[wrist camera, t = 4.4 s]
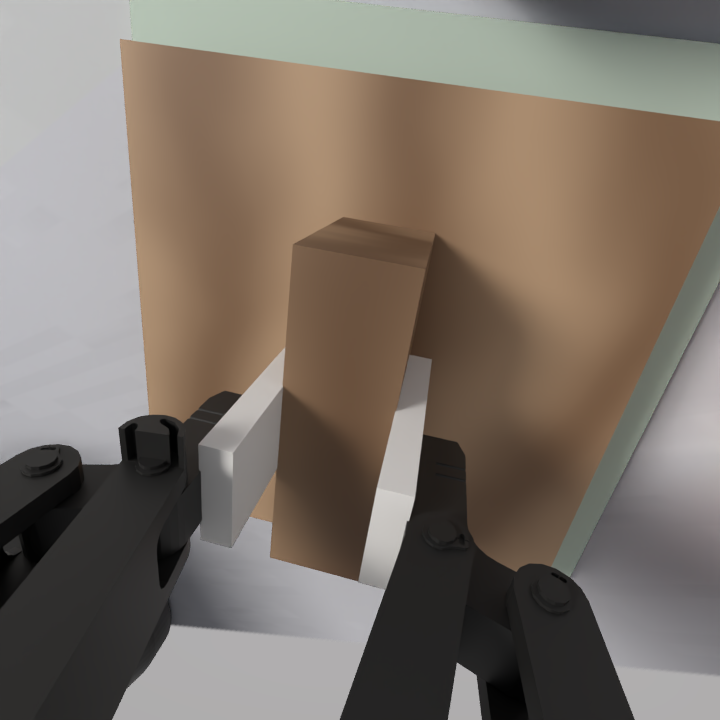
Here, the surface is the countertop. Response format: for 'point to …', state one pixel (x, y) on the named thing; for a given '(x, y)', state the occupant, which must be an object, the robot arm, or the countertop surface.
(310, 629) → the countertop surface
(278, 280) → the lid
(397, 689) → the robot arm
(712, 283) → the mat
